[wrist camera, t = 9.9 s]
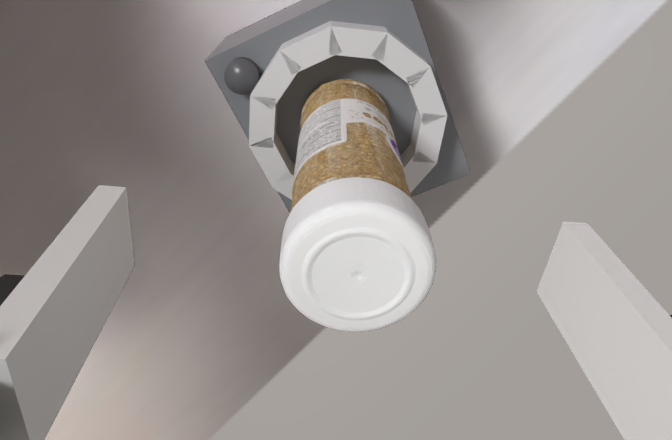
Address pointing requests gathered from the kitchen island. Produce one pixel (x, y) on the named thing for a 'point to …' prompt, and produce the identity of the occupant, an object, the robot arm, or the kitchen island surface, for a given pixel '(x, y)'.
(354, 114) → the sprinkles bottle
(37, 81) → the kitchen island surface
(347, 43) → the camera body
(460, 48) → the kitchen island surface
